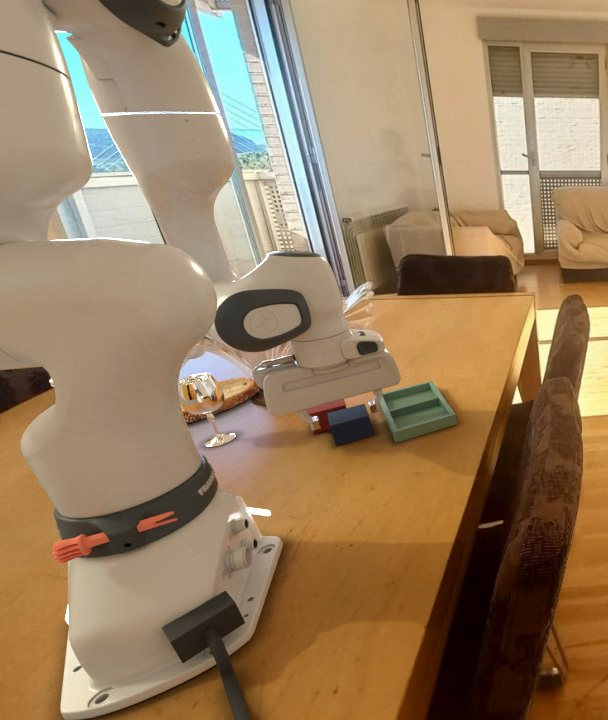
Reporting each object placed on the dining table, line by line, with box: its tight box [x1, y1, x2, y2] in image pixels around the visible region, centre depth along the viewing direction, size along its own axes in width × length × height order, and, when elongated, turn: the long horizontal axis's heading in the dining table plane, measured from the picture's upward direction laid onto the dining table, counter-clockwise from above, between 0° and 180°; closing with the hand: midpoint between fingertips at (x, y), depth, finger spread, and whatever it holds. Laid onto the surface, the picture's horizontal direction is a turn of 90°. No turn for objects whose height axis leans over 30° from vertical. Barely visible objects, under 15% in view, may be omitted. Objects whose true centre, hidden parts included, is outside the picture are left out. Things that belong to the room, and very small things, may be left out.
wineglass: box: [178, 372, 237, 448], centre depth 82 cm, size 6×6×12 cm
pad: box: [327, 403, 375, 447], centre depth 84 cm, size 6×6×4 cm
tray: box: [378, 380, 458, 444], centre depth 90 cm, size 18×11×2 cm, turn 33°
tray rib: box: [390, 397, 440, 418], centre depth 90 cm, size 1×9×2 cm, turn 124°
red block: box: [307, 399, 347, 435], centre depth 88 cm, size 6×6×4 cm
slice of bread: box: [180, 376, 261, 425], centre depth 95 cm, size 18×18×4 cm
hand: (346, 419), depth 84 cm, fingers open, 8 cm apart
